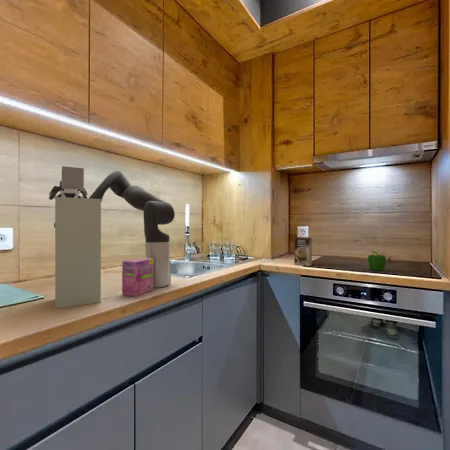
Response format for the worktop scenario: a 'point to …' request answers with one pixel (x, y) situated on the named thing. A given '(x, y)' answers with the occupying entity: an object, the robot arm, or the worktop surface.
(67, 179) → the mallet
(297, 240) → the coffee box
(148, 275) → the box
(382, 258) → the bell pepper
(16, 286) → the worktop surface
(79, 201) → the stand
